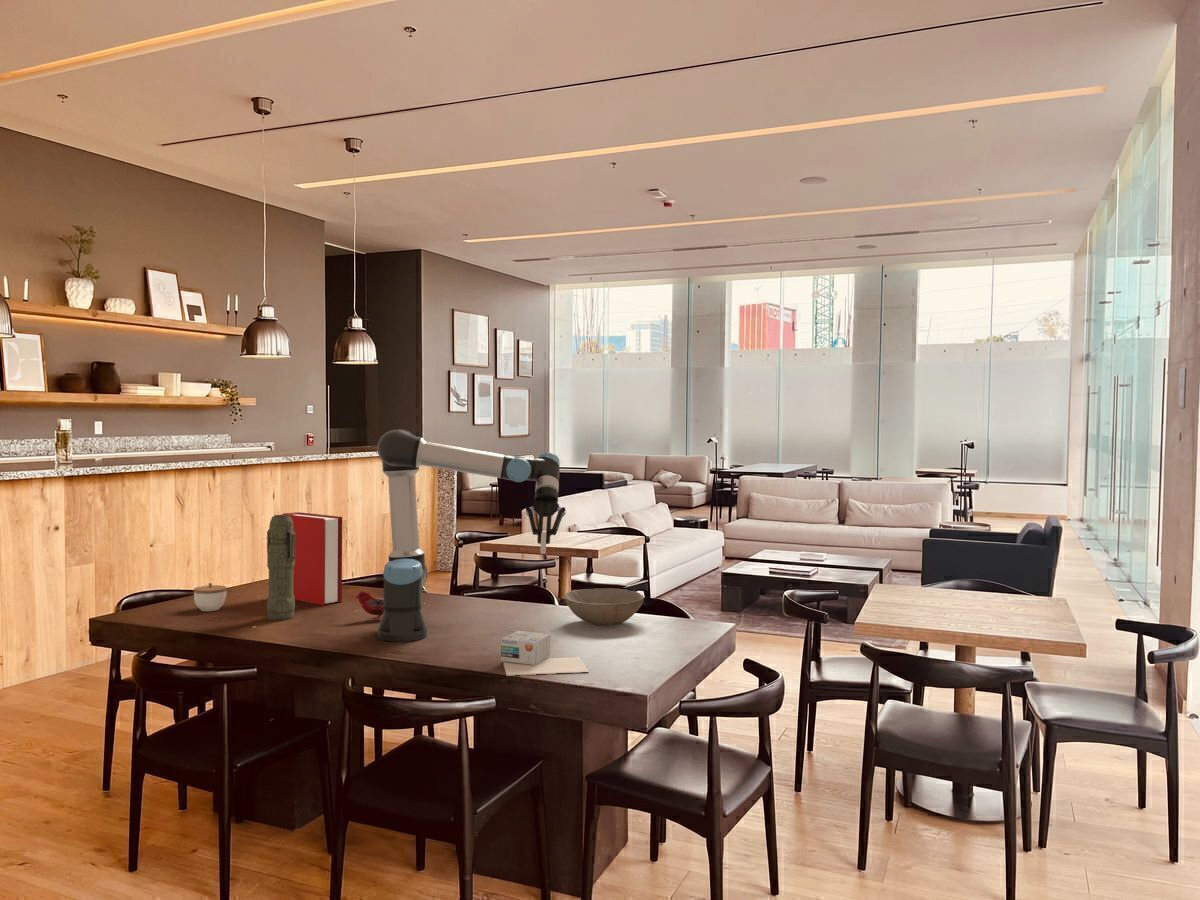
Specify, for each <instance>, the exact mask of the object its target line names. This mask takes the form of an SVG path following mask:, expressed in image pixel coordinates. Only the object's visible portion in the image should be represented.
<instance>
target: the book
mask: <svg viewBox="0 0 1200 900" xmlns="http://www.w3.org/2000/svg"><path fill="white" fill-rule="evenodd" d="M281 515H289V516H291V519H292V522H293V530H294V532H295V534H296V543H295V566H294V568H293V594H294V597H295V599H296V600H295V601H298V600H301V601H300V602H303V601H306V602H305V603H308V602H311V603H310V604H313V603H315V604H314V605H317V604H319V605H318V606H322V605H324V606H325V604H330V603H331V604H332V603H337V602H338V603H342V602H343V600H342V599H343V595H342V594H343V516H336V515H329V514H317V513H307V512H299V511H297V512H286V513H285V512H283V513H282V514H281Z"/></svg>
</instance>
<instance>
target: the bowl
mask: <svg viewBox="0 0 1200 900" xmlns="http://www.w3.org/2000/svg"><path fill="white" fill-rule="evenodd" d="M564 599H565V603H566V605H567V606H568V607H569V610H570V611H571V612H572V614H574V615H575V616H576V617H577V618H579V619H580V620H582V621H584V622H586V623H589V624H591V625H595V626H605V627H606V625H607V626H614V625H619V624H622V623H624V622H627V621H628V620H629V619H630V618H632V616H634V615H635V614H636V613H637V612H638V611H639V609H640V608H641V607H642V604H643V603H644V599H645V598H644V595H643V594H641V593H640V592H638V591H631V590H628V589H621V588H613V587H603V588H602V587H601V588H599V587H598V588H586V589H573V590H570V591H567V592H565V594H564Z"/></svg>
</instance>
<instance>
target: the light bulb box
mask: <svg viewBox="0 0 1200 900" xmlns="http://www.w3.org/2000/svg"><path fill="white" fill-rule="evenodd" d="M500 641H501V642H500V647H501V648H500V652H501V654H500V662H502V663H503V662H512V663H521V664H527V665H533V666H534V665H536V664H538V663H539V662H541V661H543V660H544V659H546V658H549V657H550V655H551V634H548V633H541V632H533V631H523V630H517V631H514V632H512V633H510V634H508V635H506V636H505V637H502V638H501V639H500Z"/></svg>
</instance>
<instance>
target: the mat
mask: <svg viewBox="0 0 1200 900" xmlns="http://www.w3.org/2000/svg"><path fill="white" fill-rule="evenodd" d="M502 664H503V667H504V671H505V675H506V677H512V676H513V677H515V675H520V676H537V675H536V674H547V675H557V674H556V673H574V674H579V673H578V672H590V671H589V670H588V668H587V666H586V665H585V663H584V661H583V659H582V658H581V657H579V656H577V657H550V658H549V657H548V658H546V659H544V660H543V661H541V662H539V663H538V664H536V665H534V666H533V665H527V664H521V663H512V662H502Z"/></svg>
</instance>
